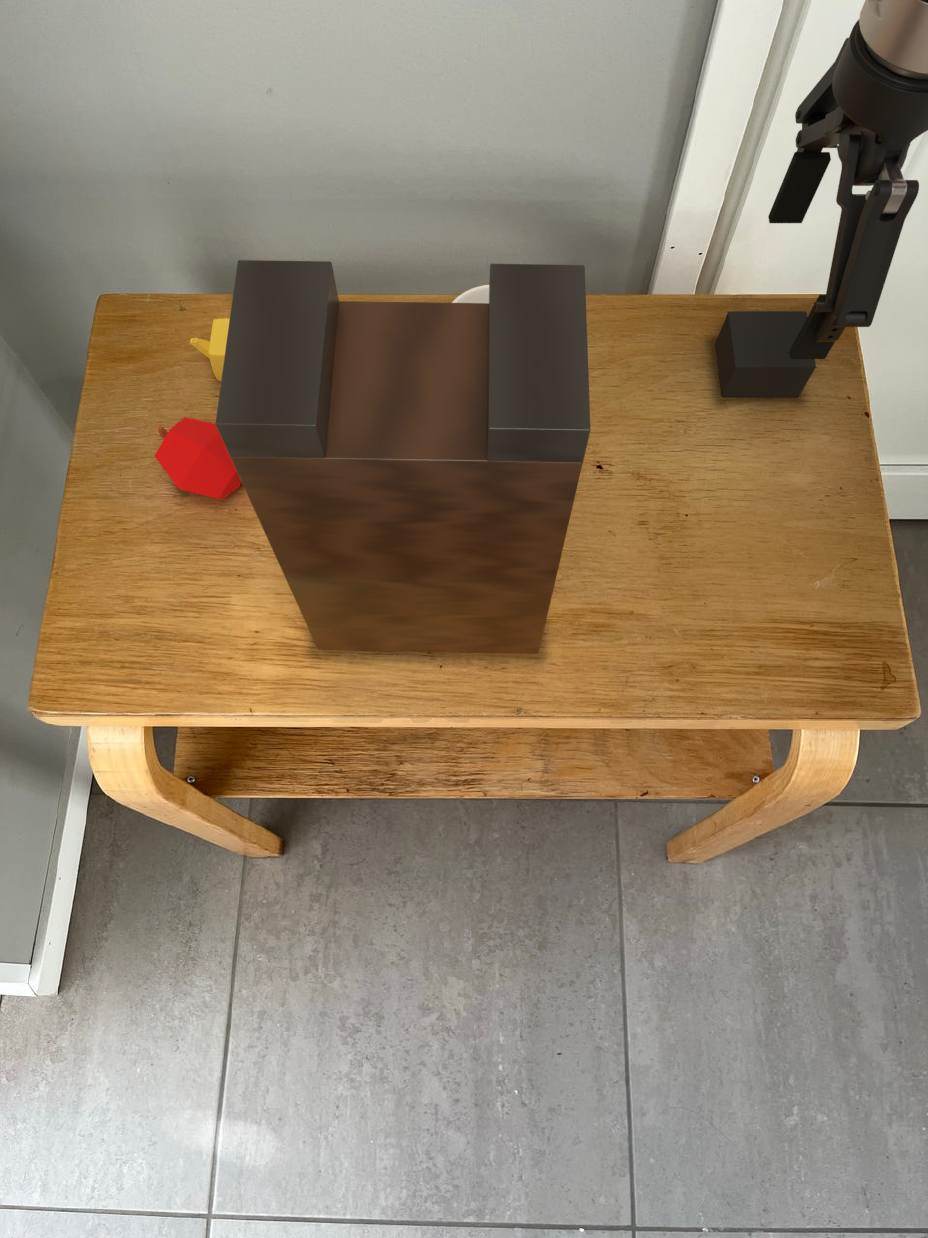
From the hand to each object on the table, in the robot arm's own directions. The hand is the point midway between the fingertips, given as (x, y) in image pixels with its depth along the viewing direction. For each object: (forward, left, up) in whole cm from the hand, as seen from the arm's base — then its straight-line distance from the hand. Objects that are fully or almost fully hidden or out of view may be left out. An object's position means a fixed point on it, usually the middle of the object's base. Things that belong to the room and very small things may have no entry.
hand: (795, 285), depth 74 cm
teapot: (+36, +31, -11) cm, 48 cm away
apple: (+31, +40, -11) cm, 52 cm away
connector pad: (0, 0, -11) cm, 11 cm away
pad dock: (+8, +37, -11) cm, 39 cm away
